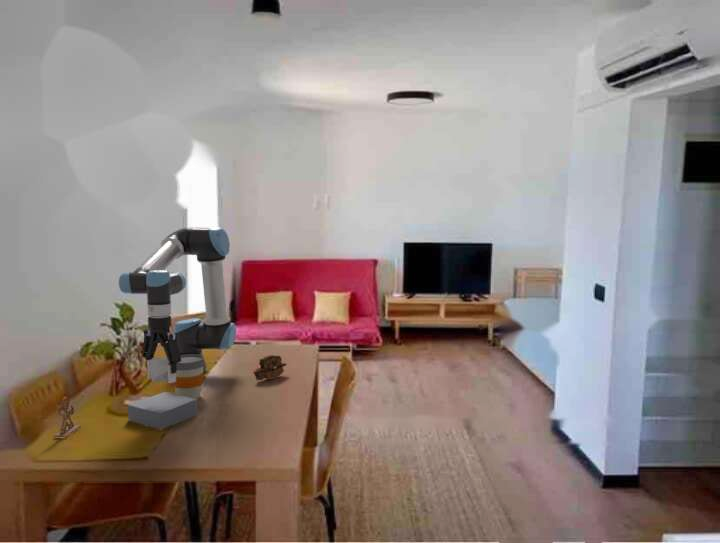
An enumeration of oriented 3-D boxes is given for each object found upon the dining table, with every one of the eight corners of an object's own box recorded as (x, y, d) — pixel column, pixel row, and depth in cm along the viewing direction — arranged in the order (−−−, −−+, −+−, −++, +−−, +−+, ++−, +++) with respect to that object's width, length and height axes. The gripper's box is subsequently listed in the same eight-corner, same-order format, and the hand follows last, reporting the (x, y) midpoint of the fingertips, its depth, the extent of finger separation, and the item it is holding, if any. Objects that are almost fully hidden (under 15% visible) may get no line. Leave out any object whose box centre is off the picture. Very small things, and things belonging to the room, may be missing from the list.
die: (159, 388, 191) (176, 363, 193) (138, 374, 192) (155, 349, 194) (167, 389, 199) (183, 365, 201) (146, 376, 200) (163, 352, 202)
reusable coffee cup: (211, 396, 220) (210, 358, 219) (182, 404, 211) (180, 365, 210) (194, 389, 229) (193, 352, 227) (165, 396, 220) (163, 358, 218)
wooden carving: (260, 384, 235) (259, 361, 234) (252, 382, 238) (252, 359, 237) (288, 375, 248) (288, 352, 247) (281, 373, 251) (280, 351, 250)
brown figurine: (69, 427, 189) (67, 392, 188) (80, 428, 189) (78, 393, 187) (53, 438, 180) (51, 401, 179) (65, 439, 180) (63, 402, 179)
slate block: (128, 421, 196) (127, 404, 195) (165, 407, 209) (165, 391, 209) (160, 431, 188) (160, 413, 187) (197, 415, 201) (196, 399, 201)
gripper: (128, 314, 197) (131, 377, 199) (173, 321, 186) (176, 388, 188) (146, 311, 203) (148, 372, 205) (191, 317, 192) (193, 382, 194)
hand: (161, 379), depth 197 cm, fingers closed on die, 9 cm apart
